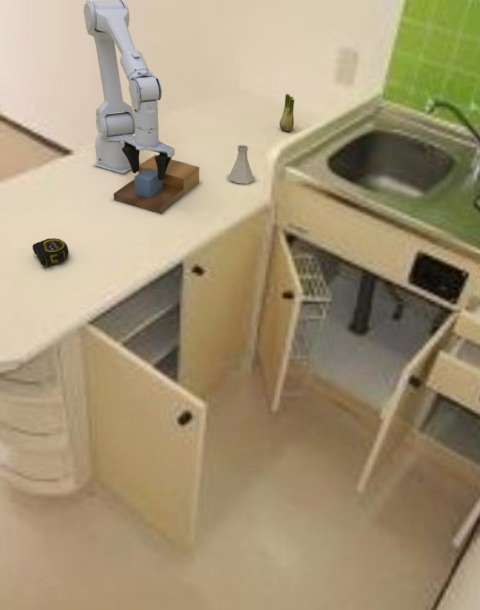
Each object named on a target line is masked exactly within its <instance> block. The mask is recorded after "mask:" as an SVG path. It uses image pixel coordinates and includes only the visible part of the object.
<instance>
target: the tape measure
mask: <svg viewBox="0 0 480 610" xmlns="http://www.w3.org/2000/svg"><path fill="white" fill-rule="evenodd" d="M32 251H33V253H34V254H35V255H36V257H37V258H38V260H39V262H40V265H42V266H43V267H48V266H50V265H56V264H59V263H62V262H64V261H65V260H67V259H68V256H69V254H70V253H69V247H68V244H67V243H66V242H65V241H64V240H63V239H60V238H55V237H51V238H46V239H43V240H41V241H38V242H34V243H33V244H32Z"/></svg>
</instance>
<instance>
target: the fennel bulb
mask: <svg viewBox="0 0 480 610" xmlns="http://www.w3.org/2000/svg"><path fill="white" fill-rule="evenodd" d="M294 107H295V99H294V97H293V96H291V94H289V93H285V96H284V107H283V111H282V115H281V118H280V120H279V127H280V129H281V130H283V131H285V132H290V131H291V130H293V129H294V125H295V117H294V110H295V109H294Z"/></svg>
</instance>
